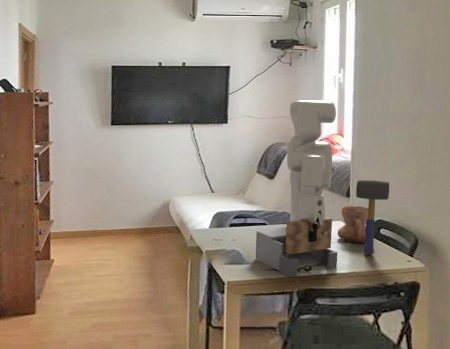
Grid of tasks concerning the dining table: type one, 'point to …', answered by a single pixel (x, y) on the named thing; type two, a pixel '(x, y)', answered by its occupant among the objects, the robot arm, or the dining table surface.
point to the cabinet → (284, 262)
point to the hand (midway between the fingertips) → (309, 239)
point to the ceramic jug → (353, 223)
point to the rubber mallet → (371, 206)
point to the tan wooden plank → (307, 236)
